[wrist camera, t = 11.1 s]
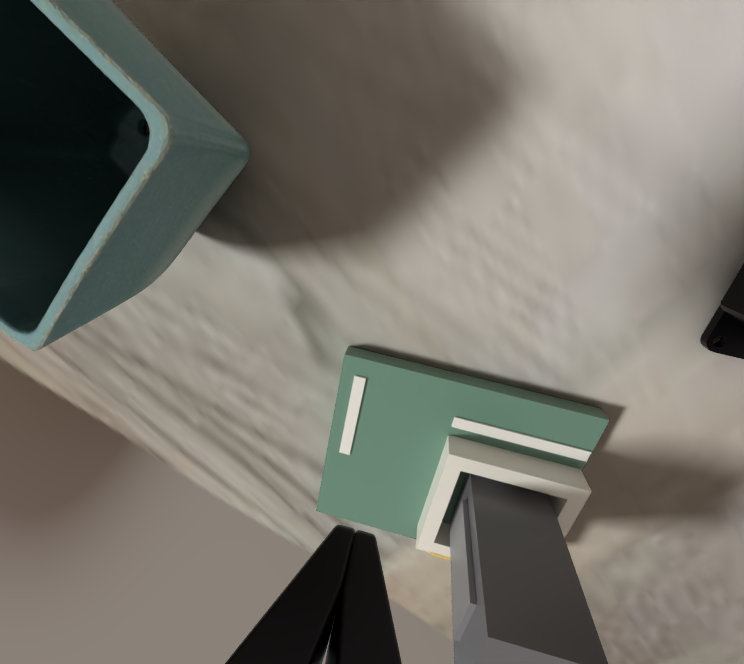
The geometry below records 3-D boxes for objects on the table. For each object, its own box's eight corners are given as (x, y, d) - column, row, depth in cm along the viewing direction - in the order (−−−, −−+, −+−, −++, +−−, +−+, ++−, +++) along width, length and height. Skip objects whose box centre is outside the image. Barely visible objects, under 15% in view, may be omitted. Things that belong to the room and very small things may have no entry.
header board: (601, 408, 19) (623, 440, 16) (524, 555, 23) (533, 596, 21) (348, 346, 20) (337, 367, 17) (320, 498, 24) (308, 531, 22)
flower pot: (148, -18, 15) (-195, -249, 7) (307, 152, 17) (178, 126, 8) (62, 154, 18) (-241, 135, 10) (201, 284, 20) (33, 359, 12)
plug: (546, 487, 19) (619, 696, 12) (520, 540, 21) (569, 755, 13) (464, 466, 20) (482, 655, 12) (445, 519, 21) (449, 718, 14)
